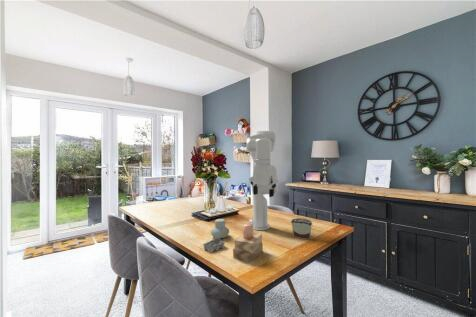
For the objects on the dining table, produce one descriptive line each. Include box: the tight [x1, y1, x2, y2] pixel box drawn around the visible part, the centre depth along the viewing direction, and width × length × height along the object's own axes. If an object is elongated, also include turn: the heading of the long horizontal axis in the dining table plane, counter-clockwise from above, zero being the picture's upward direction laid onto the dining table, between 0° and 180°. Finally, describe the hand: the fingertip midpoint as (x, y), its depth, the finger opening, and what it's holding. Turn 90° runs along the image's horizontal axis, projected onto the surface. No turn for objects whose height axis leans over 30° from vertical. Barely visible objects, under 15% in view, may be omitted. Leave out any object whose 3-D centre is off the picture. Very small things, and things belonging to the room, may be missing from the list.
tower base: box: [232, 242, 264, 263], centre depth 110 cm, size 9×13×4 cm
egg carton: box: [202, 237, 226, 253], centre depth 118 cm, size 11×8×4 cm
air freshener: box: [210, 218, 230, 239], centre depth 134 cm, size 11×8×10 cm
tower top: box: [234, 232, 263, 253], centre depth 110 cm, size 9×13×4 cm
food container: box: [290, 217, 313, 240], centre depth 132 cm, size 12×6×10 cm, turn 59°
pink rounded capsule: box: [242, 222, 254, 239], centre depth 109 cm, size 5×5×6 cm
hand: (263, 195), depth 117 cm, fingers open, 9 cm apart
